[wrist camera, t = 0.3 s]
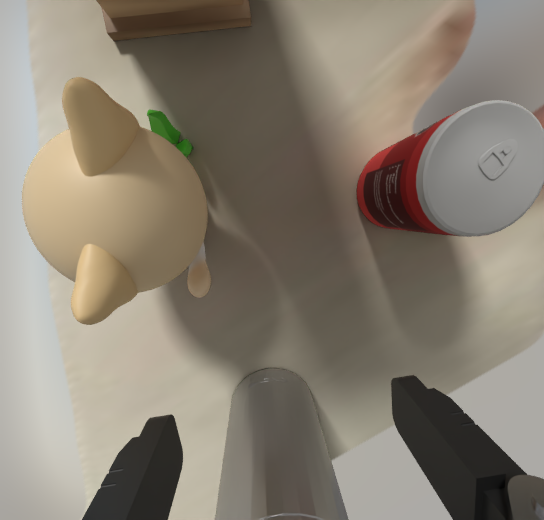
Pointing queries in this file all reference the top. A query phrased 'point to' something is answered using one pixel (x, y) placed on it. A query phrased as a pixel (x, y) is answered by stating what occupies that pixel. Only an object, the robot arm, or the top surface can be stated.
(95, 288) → the kitten
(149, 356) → the top surface
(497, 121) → the canned food
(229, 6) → the stand
